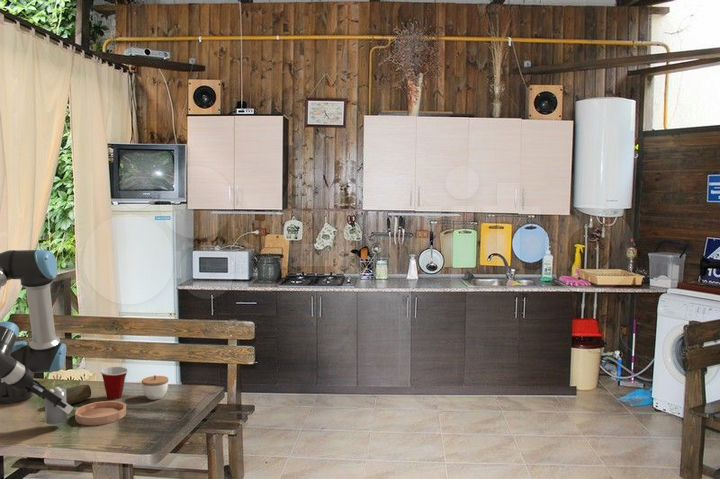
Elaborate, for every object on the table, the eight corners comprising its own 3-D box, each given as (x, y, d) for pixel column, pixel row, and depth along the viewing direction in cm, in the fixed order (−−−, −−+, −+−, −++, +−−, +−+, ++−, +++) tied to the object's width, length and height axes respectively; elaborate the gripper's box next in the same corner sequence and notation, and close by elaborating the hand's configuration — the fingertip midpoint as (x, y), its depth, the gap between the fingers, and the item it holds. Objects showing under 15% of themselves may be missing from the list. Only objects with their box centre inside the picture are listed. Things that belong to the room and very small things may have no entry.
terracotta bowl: (66, 417, 228) (66, 410, 228) (111, 405, 242) (111, 397, 242) (90, 429, 217) (89, 421, 217) (135, 415, 231) (135, 407, 231)
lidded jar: (174, 396, 254) (173, 374, 253) (153, 403, 245) (152, 381, 244) (157, 391, 260) (157, 370, 259) (136, 398, 251) (136, 376, 250)
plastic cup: (118, 402, 246) (118, 374, 245) (95, 400, 248) (94, 372, 247) (133, 394, 256) (133, 366, 255) (111, 392, 258) (110, 365, 257)
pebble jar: (42, 420, 218) (41, 388, 217) (61, 415, 223) (60, 383, 222) (50, 425, 213) (49, 392, 212) (70, 419, 219) (69, 387, 218)
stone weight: (83, 397, 252) (83, 381, 252) (93, 400, 248) (92, 384, 248) (48, 407, 240) (48, 391, 239) (58, 410, 236) (57, 394, 236)
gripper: (-3, 379, 211) (46, 410, 225) (21, 391, 199) (71, 424, 213) (13, 361, 215) (60, 393, 229) (37, 372, 202) (85, 405, 216)
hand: (65, 408), depth 221 cm, fingers closed on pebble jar, 7 cm apart
